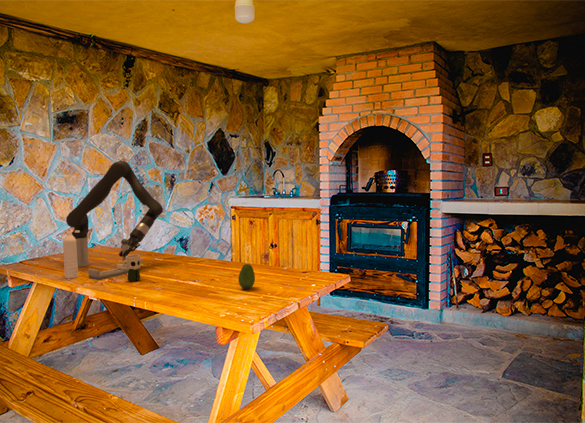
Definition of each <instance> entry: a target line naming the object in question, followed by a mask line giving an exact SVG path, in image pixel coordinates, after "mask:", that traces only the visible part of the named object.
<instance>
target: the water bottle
mask: <svg viewBox="0 0 585 423" xmlns="http://www.w3.org/2000/svg"><path fill="white" fill-rule="evenodd" d="M79 232H80V231H75V233H79ZM76 247H77V246H76V239H75V238H74V236H73V235H72V231H66V235H65V236H64V237H63V240H62V248H63V250H62V251H63V265H64V266H63V269H64V278H65V279H69V280H70V279H76V278H78V277H79V272H78V271H79V269H78V268H79V267H78V262H77V248H76Z"/></svg>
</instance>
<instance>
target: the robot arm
mask: <svg viewBox="0 0 585 423" xmlns="http://www.w3.org/2000/svg"><path fill="white" fill-rule="evenodd" d="M121 178H123V179H125V181H126V182H127V183H128V185H130V188H131V191H132V192H133V194H134V196H135V197H136V199H138V201H139V202H140V203H141V205H143V206H146V207H147V208H148V210H147V211H146V213H145V214H144V216H143V217H142V218H141V220H140V221H139V222H138V223H137V224H136V225H135V227H134V228H133V229H132V231H131V232H130V234H129V238H128V239H127V240H128V248H127V250H126V251H125V252H124V254H123V257H126V256H127V255H130V253H131V252H133V253H134V251H135V250H137V249H138V248H139V247H140V246H141V243H142V241H143V240H144V238H145V237H146V235H147V234H148V233H149V230H151V228H152V226H153V225H154V223H155V221H156V220H157V218H158V217H159V216H161V215H162V213H163V211H164V208H163V206H162V205H161V203H160V202H159V201H157V199H155V198H154V197H153V196H152V195H151V194H150V192H148V190H147V189H146V188H145V186H144V185H143V184H142V183H141V181H140V180H139V178H138V177H137V175H136V174H135V172H134V170H133V169H132V167H131V165H130V164H129V163H128V162H127V161H126V160H119V161H115V162H114V163H113V162H112V164H111V165H110V167H109V168H108V170H107V171H106V173H105V174H104V176H102V178H101V179H99V180H98V182H97V183H96V184H95V185H94V186H93V187H92V188H91V189H90V191H89V192H88V193H87V194H86V195H85V197H84V198H83V199H82V200H81V201H80V202H79V203H78V205H77V206H76V207H74V208H73V210H71V211H70V212H69V213H68V215H67V216H66V218H65V222H66V225H67V226H68V227H71V228H73V231H71V233H72V235H73V236H74V238H75V239H76V246H77V247H76V248H77V262H78V268H80V267H87V266H89V265H90V262H89V246H88V245H89V244H88V233H89V217H88V214H89V212H91V211H92V210H94V209H95V208H97V207H99V206H100V205H101V204H102V203H103V202H104V201H105V200H106V199H107V197H108V196H109V195H110V193H111V191H112V188H113V186H114V185H115V184H116V183H117V182H118V181H119V180H120V179H121ZM75 231H80V232H79V233H75ZM120 249H122V245H121V246H120ZM118 256H119V258H120V257H122V250H120V252H119V253H118Z"/></svg>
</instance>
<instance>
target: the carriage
mask: <svg viewBox="0 0 585 423" xmlns="http://www.w3.org/2000/svg"><path fill="white" fill-rule="evenodd" d="M120 242H121V243H120V244H121V246H122V248H121V251H122V262H121V263H116V269H118V268H119V269H128V268H126V267H123V261H125V260H126V257H123V254H124V252H125V251H126V250H127V248H128V239H127V238H123V239H122V240H121V241H120ZM128 255H129V254H128ZM128 255H127V256H128ZM125 265H126V262H125Z"/></svg>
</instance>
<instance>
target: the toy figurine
mask: <svg viewBox="0 0 585 423" xmlns="http://www.w3.org/2000/svg"><path fill="white" fill-rule="evenodd" d="M125 262H126V265H125ZM122 263H123V267H126V268H128V269H129V270H128V274H127V280H128V281H131V282H133V281H140V280H141V274H140V268H141V265H142V264H144V258H143V257H141V255H140V254H128V256H126V260H125V261H123V260H122ZM138 268H139V269H138Z"/></svg>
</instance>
